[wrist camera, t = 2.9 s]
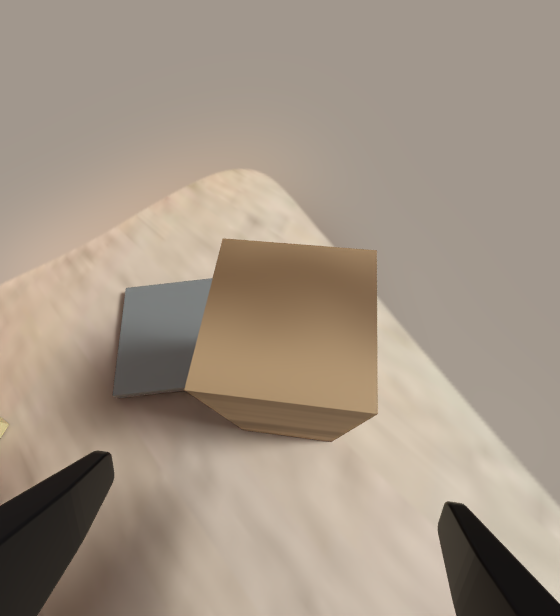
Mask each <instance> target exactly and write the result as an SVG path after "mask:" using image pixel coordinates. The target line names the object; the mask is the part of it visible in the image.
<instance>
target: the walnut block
mask: <svg viewBox="0 0 560 616" xmlns="http://www.w3.org/2000/svg"><path fill="white" fill-rule="evenodd" d="M184 390H185V391H186V392H188V393H189V394H191V395H192V396H194V397H195V398H197V399H198V400H200V401H201V402H203V403H204V404H206V405H207V406H208V407H210V408H211V409H213V410H214V411H216V412H217V413H219V414H220V415H222V416H223V417H225V418H226V419H228V420H229V421H231V422H232V423H234V424H235V425H237V426H238V427H240V428H241V429H243V430H246V431H254V432H261V433H269V434H277V435H284V436H292V437H299V438H307V439H314V440H322V441H329V442H332V441H334V440H335V439H337V438H339V437H340V436H342V435H344V434H345V433H347V432H349V431H350V430H352V429H354V428H355V427H357V426H359V425H360V424H362V423H364V422H365V421H367V420H368V419H370V418H372V417H373V416H375V415H377V414H378V393H377V251H376V250H364V249H351V248H339V247H326V246H313V245H300V244H287V243H274V242H261V241H248V240H236V239H223V240H222V244H221V248H220V251H219V255H218V259H217V263H216V267H215V271H214V275H213V279H212V283H211V287H210V291H209V295H208V299H207V302H206V306H205V310H204V314H203V318H202V322H201V326H200V330H199V334H198V338H197V342H196V346H195V350H194V354H193V357H192V361H191V365H190V369H189V373H188V377H187V381H186V385H185V389H184Z"/></svg>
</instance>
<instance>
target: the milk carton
mask: <svg viewBox="0 0 560 616" xmlns="http://www.w3.org/2000/svg"><path fill="white" fill-rule="evenodd" d="M8 425H9V424H8V423H7V422H6V421H4V420H3V419H2V418H1V417H0V438H1V436H2V435H3V433H4V432H5V430H6V428H7V427H8Z"/></svg>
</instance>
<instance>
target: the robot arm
mask: <svg viewBox="0 0 560 616" xmlns="http://www.w3.org/2000/svg"><path fill="white" fill-rule="evenodd" d="M113 480H114V468H113V461H112V456H111V454H110V453H109V452H104V451H94V452H92V453H90V454H88V455H87V456H85V457H83V458H81V459H80V460H78V461H76V462H75V463H73V464H71V465H69V466H68V467H66V468H64V469H63V470H61V471H59V472H57V473H56V474H54V475H52V476H50V477H49V478H47V479H45V480H44V481H42V482H40V483H38V484H37V485H35V486H33V487H32V488H30V489H28V490H26V491H25V492H23V493H21V494H20V495H18V496H16V497H14V498H13V499H11V500H9V501H8V502H6V503H4V504H2V505H1V506H0V616H37V615H38V613H39V612H40V610H41V609H42V607H43V605H44V604H45V602H46V601H47V599H48V597H49V596H50V594H51V592H52V591H53V589H54V588H55V586H56V584H57V583H58V581H59V580H60V578H61V576H62V575H63V573H64V571H65V570H66V568H67V567H68V565H69V563H70V562H71V560H72V559H73V557H74V555H75V554H76V552H77V550H78V549H79V547H80V545H81V544H82V542H83V540H84V538H85V536H86V534H87V533H88V531H89V529H90V527H91V525H92V523H93V521H94V519H95V517H96V515H97V513H98V511H99V509H100V507H101V505H102V503H103V501H104V499H105V497H106V495H107V493H108V491H109V489H110V487H111V485H112V483H113ZM438 535H439V540H440V544H441V549H442V554H443V558H444V563H445V568H446V573H447V577H448V582H449V587H450V591H451V596H452V600H453V604H454V608H455V612H456V615H457V616H560V604H559V602H558V601H557V600H556V599H555V598H554V597H553V596H552V595H551V594H550V593H549V592H548V591H547V590H546V589H545V588H544V587H543V586H542V585H541V584H540V583H539V582H538V581H537V580H536V578H535V577H534V576H533V575H532V574H531V573H530V572H529V571H528V570H527V569H526V568H525V567H524V566H523V565H522V564H521V563H520V562H519V561H518V560H517V559H516V558H515V557H514V556H513V554H512V553H511V552H510V551H509V550H508V549H507V548H506V547H505V546H504V545H503V544H502V543H501V542H500V541H499V540H498V539H497V538H496V537H495V536H494V535H493V534H492V533H491V532H490V530H489V529H488V528H487V527H486V526H485V525H484V524H483V523H482V522H481V521H480V520H479V519H478V518H477V517H476V516H475V515H474V514H473V513H472V512H471V511H470V510H469V509H468V508H467V507H466V506H465V505H464V504H462V503H457V502H450V501H448V502H446V503H445V504H444V507H443V510H442V513H441V516H440V519H439V522H438Z"/></svg>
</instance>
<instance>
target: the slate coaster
mask: <svg viewBox="0 0 560 616" xmlns="http://www.w3.org/2000/svg"><path fill="white" fill-rule="evenodd" d="M212 279H213V278H211V279H202V280H193V281H184V282H175V283H167V284H158V285H149V286H140V287H131V288H126V291H125V299H124V307H123V315H122V324H121V332H120V340H119V348H118V356H117V364H116V372H115V381H114V389H113V396H114V397H117V398H124V397H133V396H141V395H150V394H158V393H167V392H176V391H184V389H185V385H186V381H187V377H188V373H189V369H190V365H191V361H192V357H193V354H194V350H195V346H196V342H197V338H198V334H199V330H200V326H201V322H202V318H203V314H204V310H205V306H206V302H207V299H208V295H209V291H210V287H211V283H212Z"/></svg>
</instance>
